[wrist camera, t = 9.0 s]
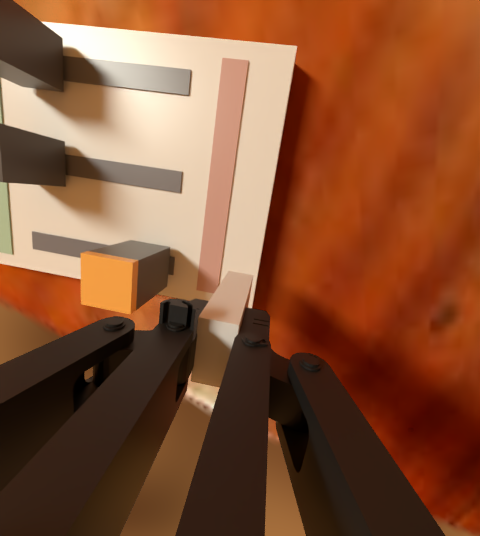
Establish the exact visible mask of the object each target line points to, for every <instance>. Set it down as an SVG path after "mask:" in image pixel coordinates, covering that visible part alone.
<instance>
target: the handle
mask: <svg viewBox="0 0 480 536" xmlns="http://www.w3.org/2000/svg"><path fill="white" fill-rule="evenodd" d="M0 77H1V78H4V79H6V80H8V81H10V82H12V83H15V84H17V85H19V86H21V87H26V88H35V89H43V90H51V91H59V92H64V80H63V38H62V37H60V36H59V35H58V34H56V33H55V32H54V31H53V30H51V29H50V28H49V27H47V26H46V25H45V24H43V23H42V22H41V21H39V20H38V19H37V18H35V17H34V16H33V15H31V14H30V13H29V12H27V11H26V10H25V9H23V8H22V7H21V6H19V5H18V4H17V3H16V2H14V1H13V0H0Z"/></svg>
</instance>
